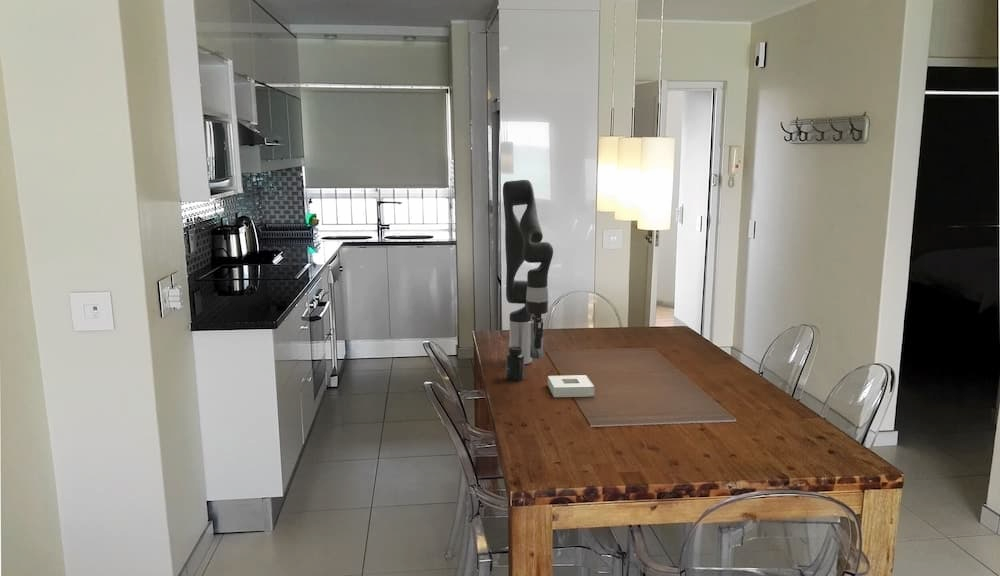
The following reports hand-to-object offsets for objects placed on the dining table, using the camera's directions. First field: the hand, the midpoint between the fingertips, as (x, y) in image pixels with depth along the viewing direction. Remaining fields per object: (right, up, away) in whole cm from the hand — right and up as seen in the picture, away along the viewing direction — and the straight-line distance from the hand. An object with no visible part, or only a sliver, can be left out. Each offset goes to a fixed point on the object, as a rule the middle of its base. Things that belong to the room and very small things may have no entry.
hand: (536, 346), depth 257 cm
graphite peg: (0, -4, +1) cm, 4 cm away
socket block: (+12, -16, +1) cm, 20 cm away
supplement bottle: (-7, -14, +15) cm, 21 cm away
